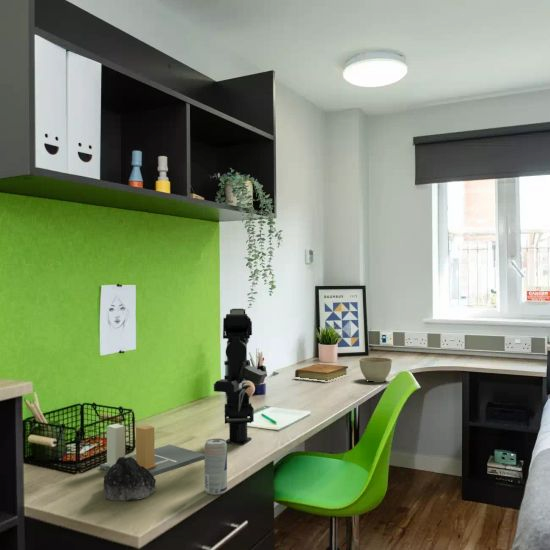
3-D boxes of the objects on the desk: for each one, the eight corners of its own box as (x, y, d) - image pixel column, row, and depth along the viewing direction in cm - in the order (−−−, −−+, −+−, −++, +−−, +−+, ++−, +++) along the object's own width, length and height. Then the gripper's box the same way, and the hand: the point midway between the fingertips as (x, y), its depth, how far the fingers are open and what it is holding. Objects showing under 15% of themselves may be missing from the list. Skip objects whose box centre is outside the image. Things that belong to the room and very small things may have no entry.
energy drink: (227, 486, 138) (227, 438, 139) (226, 495, 133) (226, 444, 133) (205, 487, 138) (205, 438, 138) (203, 495, 133) (203, 444, 133)
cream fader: (117, 461, 155) (117, 423, 155) (127, 465, 151) (127, 425, 152) (104, 465, 151) (104, 426, 152) (114, 468, 148) (114, 429, 148)
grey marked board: (169, 447, 171) (169, 444, 171) (205, 458, 161) (205, 454, 161) (100, 468, 153) (100, 464, 153) (135, 481, 142) (135, 477, 142)
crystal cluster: (141, 481, 145) (137, 443, 145) (169, 491, 135) (164, 449, 135) (92, 499, 136) (87, 458, 136) (117, 511, 126) (112, 467, 126)
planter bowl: (353, 381, 279) (353, 359, 279) (368, 377, 292) (368, 356, 292) (383, 385, 269) (382, 362, 269) (397, 380, 282) (397, 358, 282)
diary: (316, 374, 306) (316, 363, 306) (348, 377, 296) (348, 366, 296) (295, 380, 286) (295, 369, 286) (327, 383, 276) (327, 372, 276)
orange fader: (145, 462, 153) (145, 424, 153) (156, 466, 150) (156, 426, 150) (133, 466, 150) (133, 427, 150) (144, 470, 147) (144, 430, 147)
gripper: (249, 363, 151) (250, 421, 151) (274, 354, 168) (274, 406, 168) (212, 361, 155) (213, 418, 155) (240, 352, 172) (240, 403, 172)
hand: (237, 411), depth 162 cm, fingers closed
